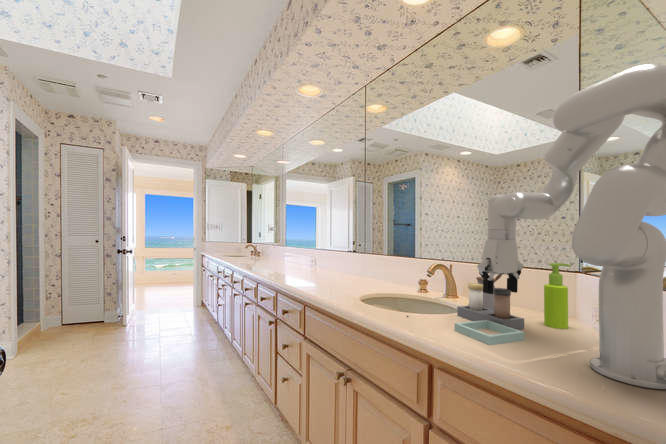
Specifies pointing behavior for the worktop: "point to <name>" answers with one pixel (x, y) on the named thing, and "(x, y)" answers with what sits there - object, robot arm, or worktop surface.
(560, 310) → the soap dispenser
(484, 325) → the parts tray
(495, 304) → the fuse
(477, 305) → the fuse
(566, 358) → the worktop surface
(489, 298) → the coffee pot
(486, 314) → the fuse holder
